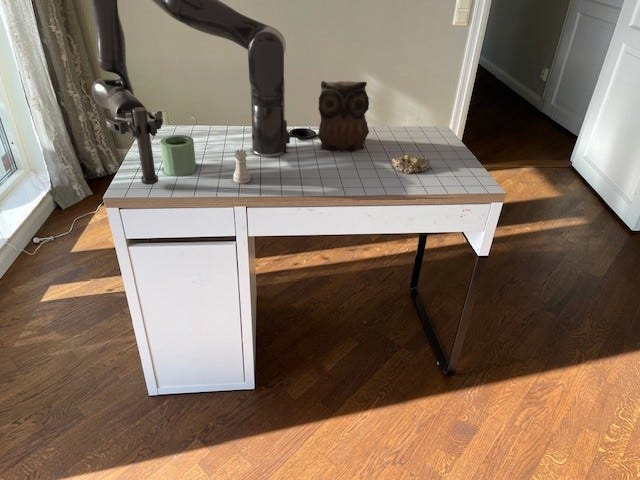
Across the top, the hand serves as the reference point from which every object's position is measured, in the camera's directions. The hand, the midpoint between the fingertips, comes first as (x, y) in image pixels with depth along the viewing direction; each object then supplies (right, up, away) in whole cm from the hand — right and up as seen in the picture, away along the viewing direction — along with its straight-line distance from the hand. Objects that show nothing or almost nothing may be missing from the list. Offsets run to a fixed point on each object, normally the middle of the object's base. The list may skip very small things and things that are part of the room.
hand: (145, 132), depth 111 cm
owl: (+46, +5, +39) cm, 61 cm away
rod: (-2, -10, +9) cm, 14 cm away
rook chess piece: (+20, -9, +15) cm, 26 cm away
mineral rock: (+65, -4, +26) cm, 70 cm away
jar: (+3, -6, +19) cm, 20 cm away
